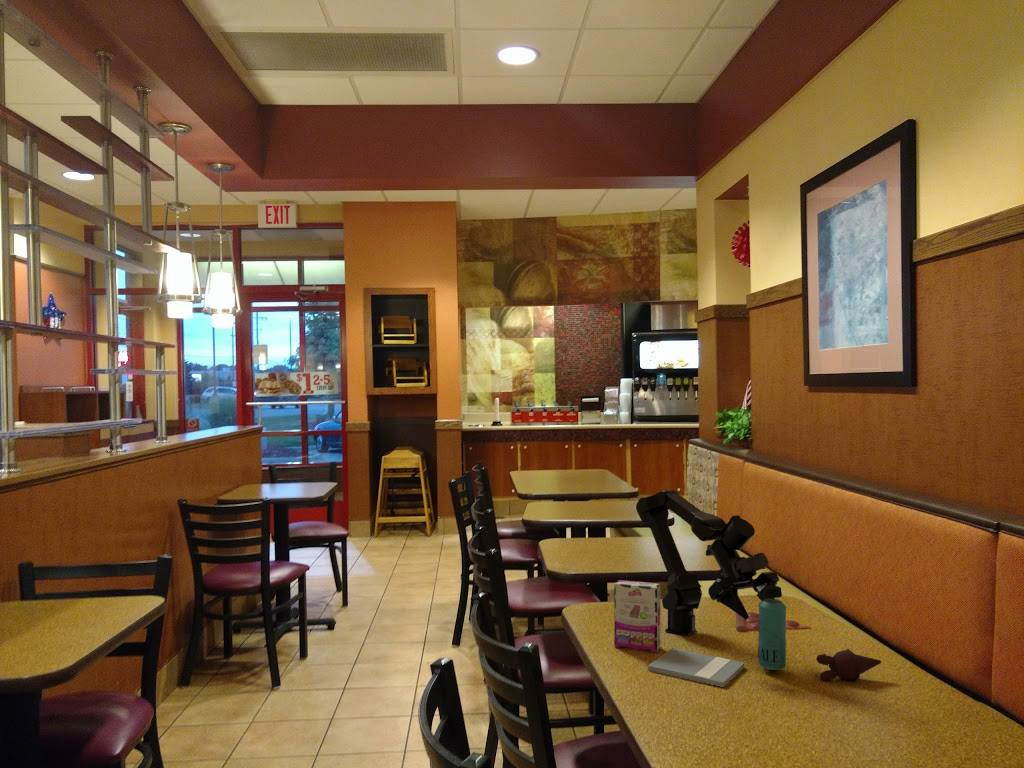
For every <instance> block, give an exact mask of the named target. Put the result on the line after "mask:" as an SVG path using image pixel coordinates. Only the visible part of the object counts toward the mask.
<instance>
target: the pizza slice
mask: <svg viewBox="0 0 1024 768" xmlns="http://www.w3.org/2000/svg"><path fill="white" fill-rule="evenodd" d="M747 614H748V616H749V618H748V619H746V620H745V619H744V618H743V617H741V616H740V615H738V614H737V613H736V612H735V630H737V631H736V632H740V631H744V632H753V631H754V632H756V630H759V629H758V627H759V623H758V622H759V620H758V619H759V615H758V614H759V613H757V612H755V611H754V612H753V611H752V612H751V611H750V612H747ZM794 628H811V629H812V627H811V626H810V625H808V624H801V623H799V622H798V621H796V620H791V619H788V620H787V619H786V629H787V630H795V629H794ZM751 630H752V631H751Z"/></svg>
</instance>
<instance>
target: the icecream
mask: <svg viewBox="0 0 1024 768" xmlns="http://www.w3.org/2000/svg"><path fill="white" fill-rule="evenodd" d="M815 660H816V661H817V663H818V664H821V665H824V666H828V668H829V669H828V670H823V672H821V673H820V674H819V679H820V680H822V681H823V682H827V681H828V682H829V681H832V680H834V679H836V677H838V678H840V679H843V680H847V681H854V682H855V681H857V680H860V677H861V675H862V674H864V673H865V672H867V671H869V670H871V669H873V668H875V667H876V666H878V665H880V664H882V661H881V659H876V658H872V657H869V656H865V655H860V654H856V653H854V652H853V651H852V650H850V648H847V649H843V650H840V651H838V652H836V653H835V654H834V655H833V656H831V655H827V654H826V653H822V654H818V655H817V656H816V658H815Z"/></svg>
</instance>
